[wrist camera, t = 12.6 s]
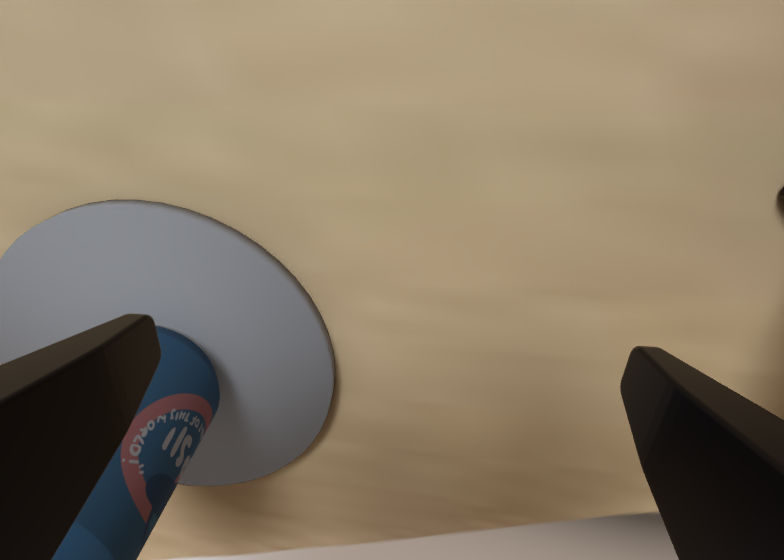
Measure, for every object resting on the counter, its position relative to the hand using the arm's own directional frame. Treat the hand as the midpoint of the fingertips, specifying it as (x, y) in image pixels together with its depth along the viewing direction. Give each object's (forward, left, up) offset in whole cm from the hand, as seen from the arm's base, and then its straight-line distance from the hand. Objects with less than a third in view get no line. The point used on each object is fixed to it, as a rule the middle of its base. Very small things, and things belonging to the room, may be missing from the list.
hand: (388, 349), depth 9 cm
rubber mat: (+1, +17, -13) cm, 21 cm away
